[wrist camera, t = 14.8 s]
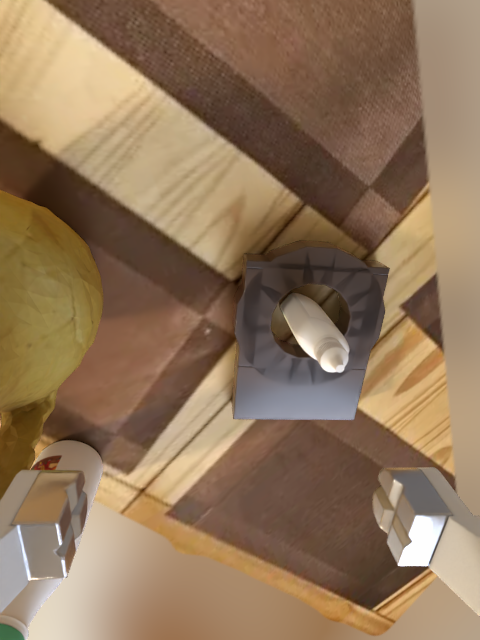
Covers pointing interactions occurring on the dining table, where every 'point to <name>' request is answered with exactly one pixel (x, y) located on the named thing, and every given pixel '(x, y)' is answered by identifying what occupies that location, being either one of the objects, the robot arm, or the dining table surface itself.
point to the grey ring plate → (291, 360)
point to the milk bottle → (12, 623)
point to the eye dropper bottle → (315, 332)
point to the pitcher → (39, 322)
